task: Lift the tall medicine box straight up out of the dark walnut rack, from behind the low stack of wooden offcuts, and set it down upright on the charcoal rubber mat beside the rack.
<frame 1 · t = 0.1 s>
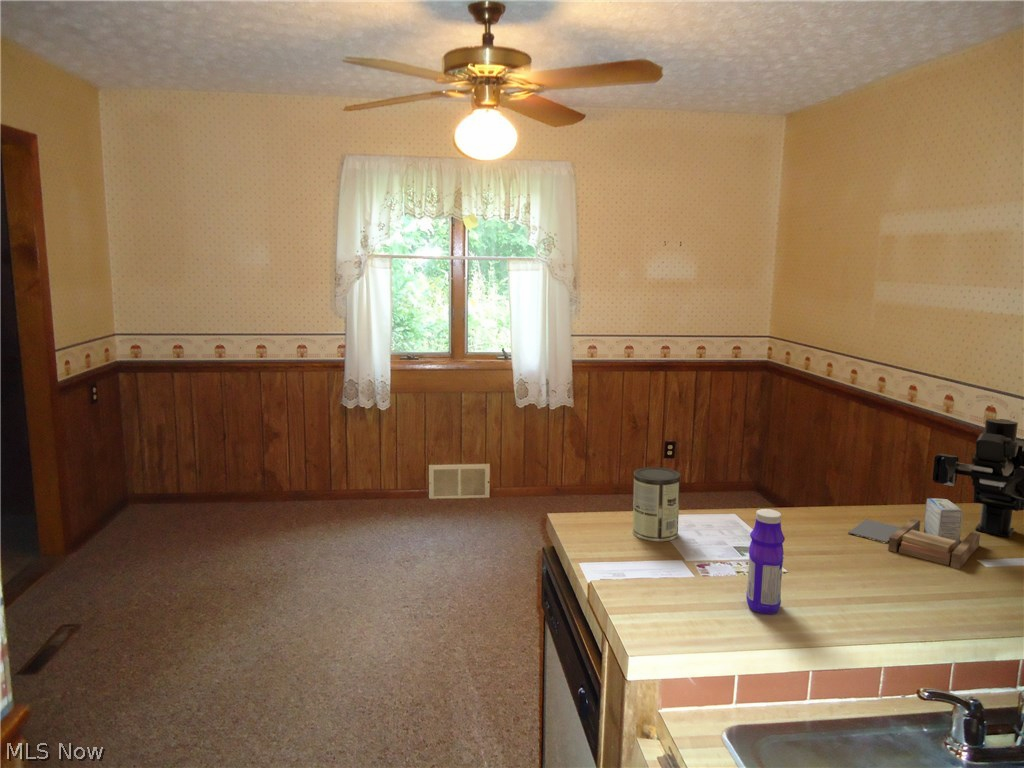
hand: (976, 484, 136), 17 cm above the counter, tool horizontal, fingers open, 9 cm apart
bottle: (762, 607, 120), on the counter
coffee can: (654, 534, 155), on the counter
medicine box: (940, 542, 150), on the counter
offcut stack: (927, 554, 143), on the counter
mat: (876, 531, 156), on the counter
rack: (933, 548, 146), on the counter
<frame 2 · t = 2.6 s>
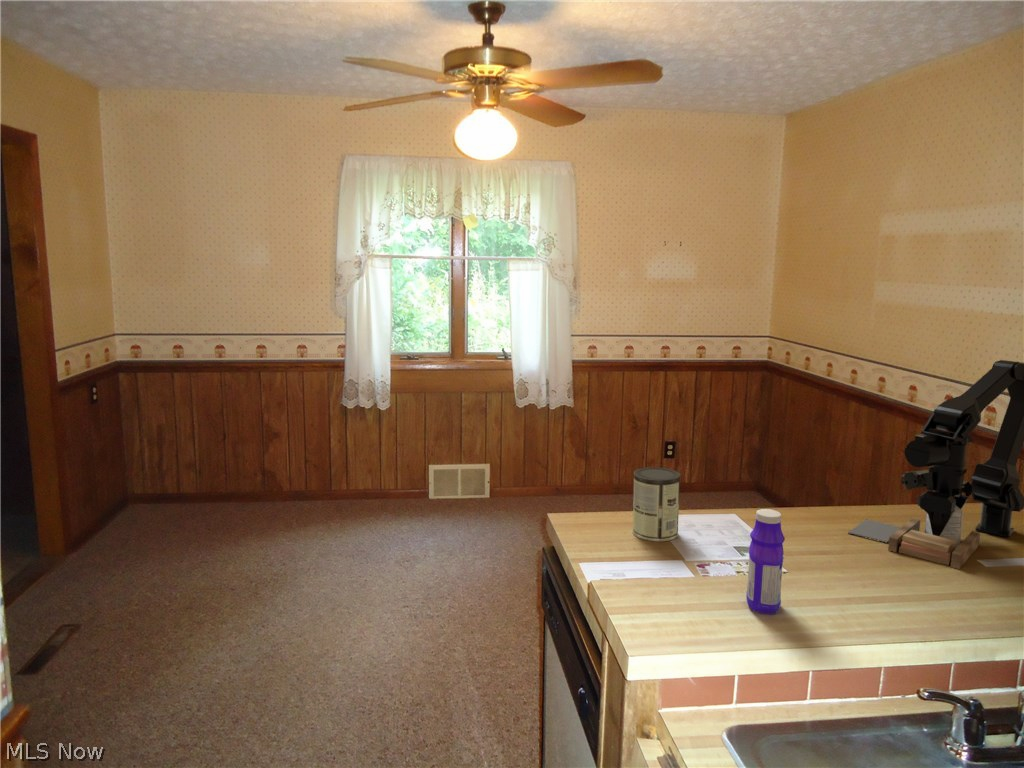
hand: (941, 531, 150), 2 cm above the counter, tool pointing down, fingers open, 9 cm apart
nothing on the counter moved.
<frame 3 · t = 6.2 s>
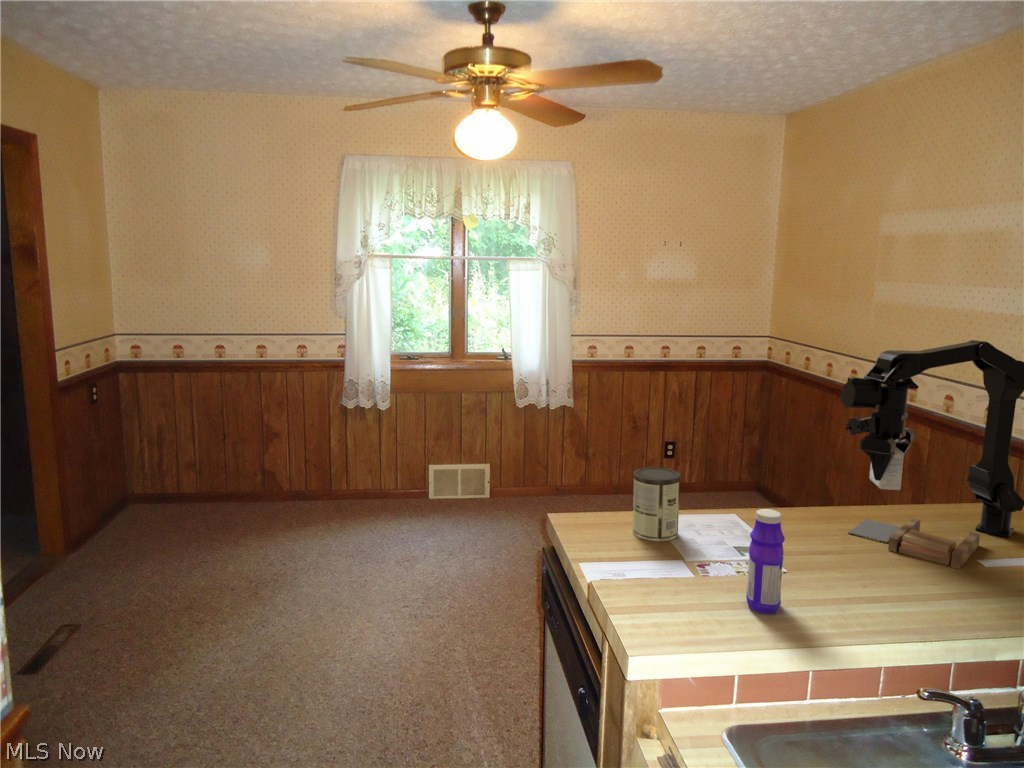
hand: (884, 476, 153), 13 cm above the counter, tool pointing down, fingers closed on medicine box, 9 cm apart
medicine box: (884, 485, 153), point 11 cm above the counter, touching gripper
everything else where it was.
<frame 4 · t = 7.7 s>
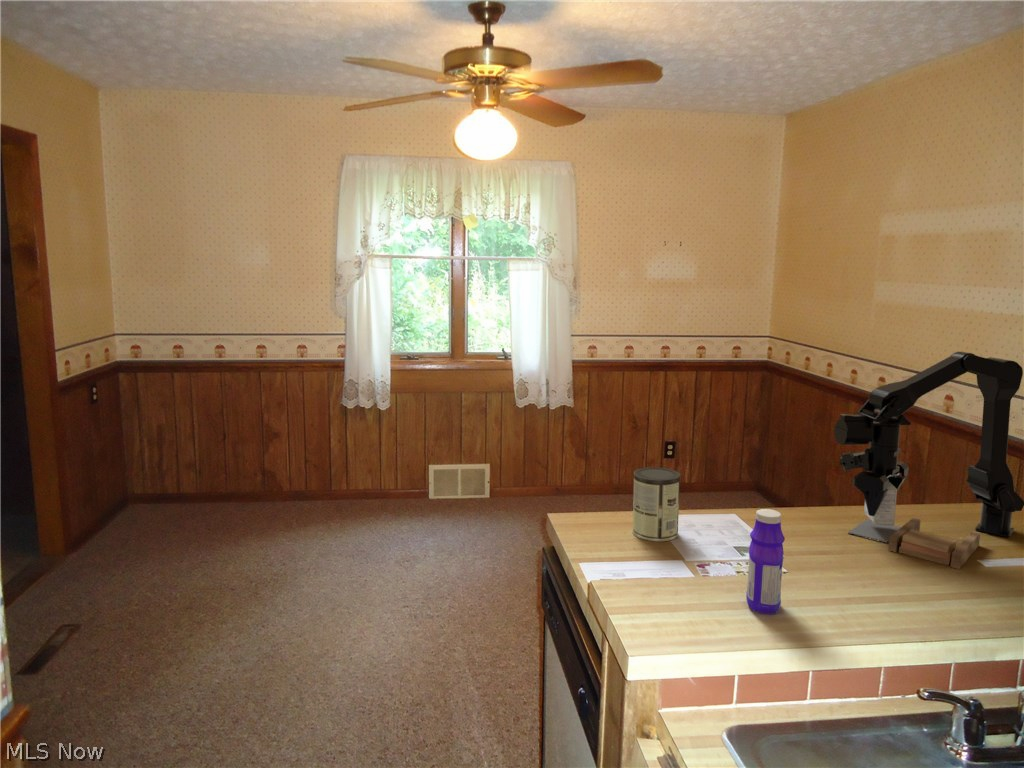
hand: (878, 510, 155), 5 cm above the counter, tool pointing down, fingers closed on medicine box, 9 cm apart
medicine box: (878, 520, 155), point 3 cm above the counter, touching gripper
everything else where it was.
when the fingers open (4 cm above the counter, at t = 9.0 s): medicine box drops 1 cm, on the counter.
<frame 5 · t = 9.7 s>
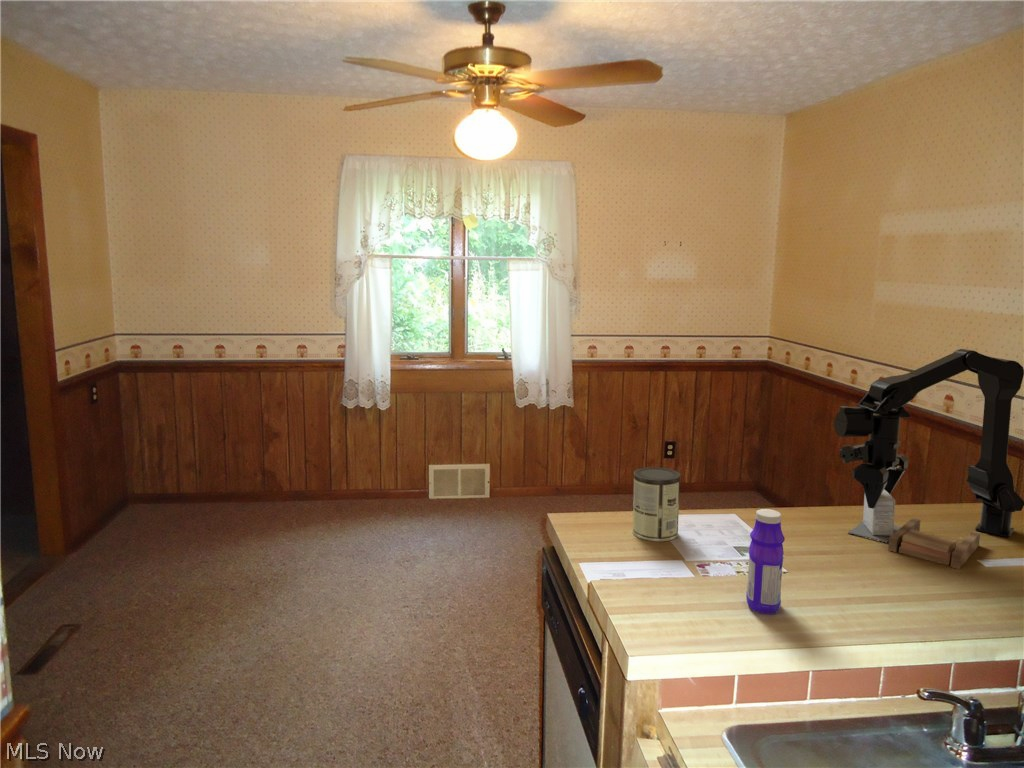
hand: (878, 503, 155), 7 cm above the counter, tool pointing down, fingers open, 9 cm apart
medicine box: (877, 530, 156), resting on mat, touching gripper
everything else where it was.
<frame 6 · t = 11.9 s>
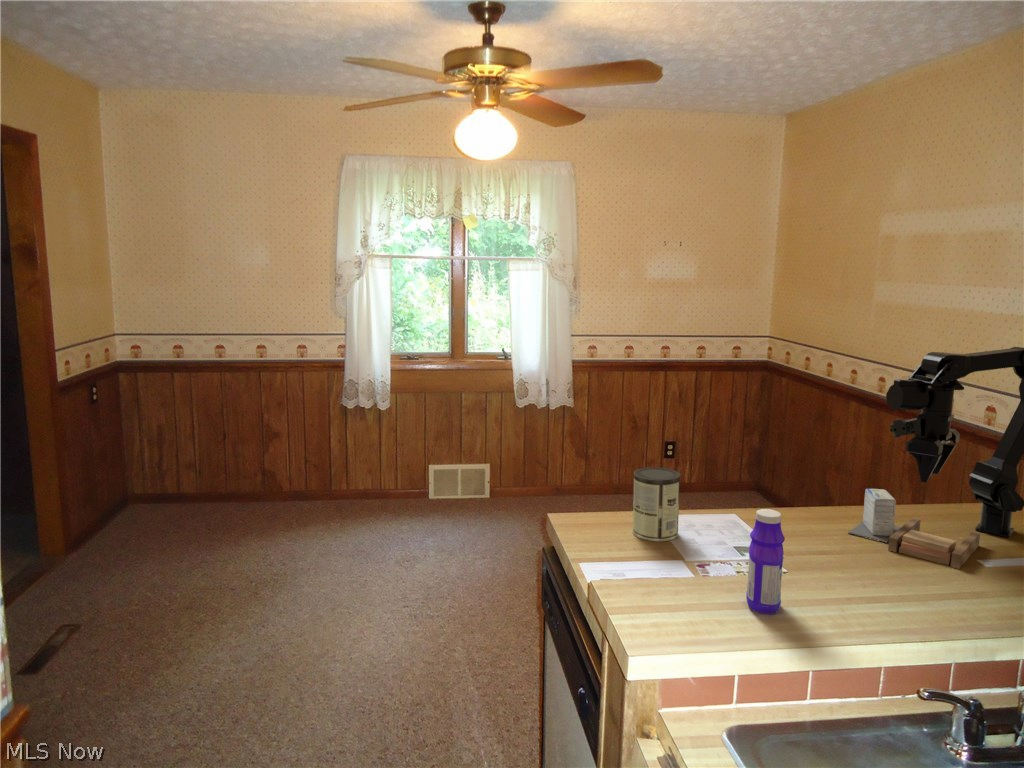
hand: (929, 477, 153), 13 cm above the counter, tool pointing down, fingers open, 9 cm apart
medicine box: (877, 531, 156), resting on mat
everything else where it was.
at the end: medicine box inside the target area (0.2 cm from its centre), resting on mat; medicine box tilted 0°; the gripper is holding nothing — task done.
